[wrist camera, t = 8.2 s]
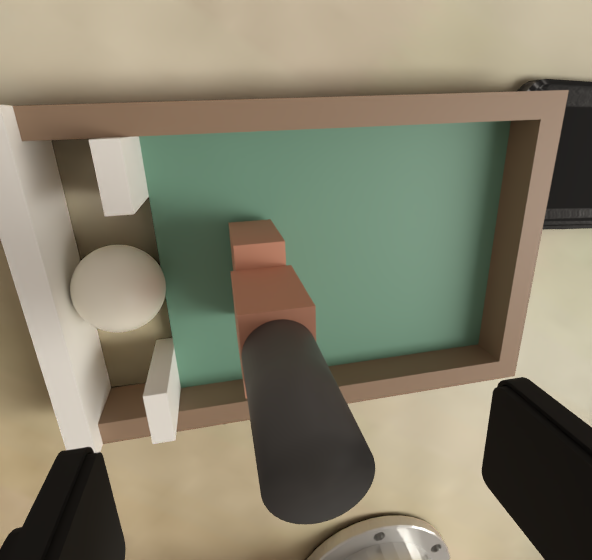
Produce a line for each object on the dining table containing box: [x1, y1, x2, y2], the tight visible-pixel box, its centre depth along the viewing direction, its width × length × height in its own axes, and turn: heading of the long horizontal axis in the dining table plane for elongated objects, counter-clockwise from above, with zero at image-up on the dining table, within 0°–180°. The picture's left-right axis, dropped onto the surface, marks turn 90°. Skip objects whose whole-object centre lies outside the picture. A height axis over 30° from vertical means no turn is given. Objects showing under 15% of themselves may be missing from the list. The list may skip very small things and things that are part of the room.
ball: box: [70, 245, 166, 332], centre depth 19 cm, size 4×4×4 cm
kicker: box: [228, 219, 375, 524], centre depth 14 cm, size 5×2×13 cm, turn 2°
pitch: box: [0, 90, 569, 453], centre depth 20 cm, size 15×24×5 cm, turn 92°
